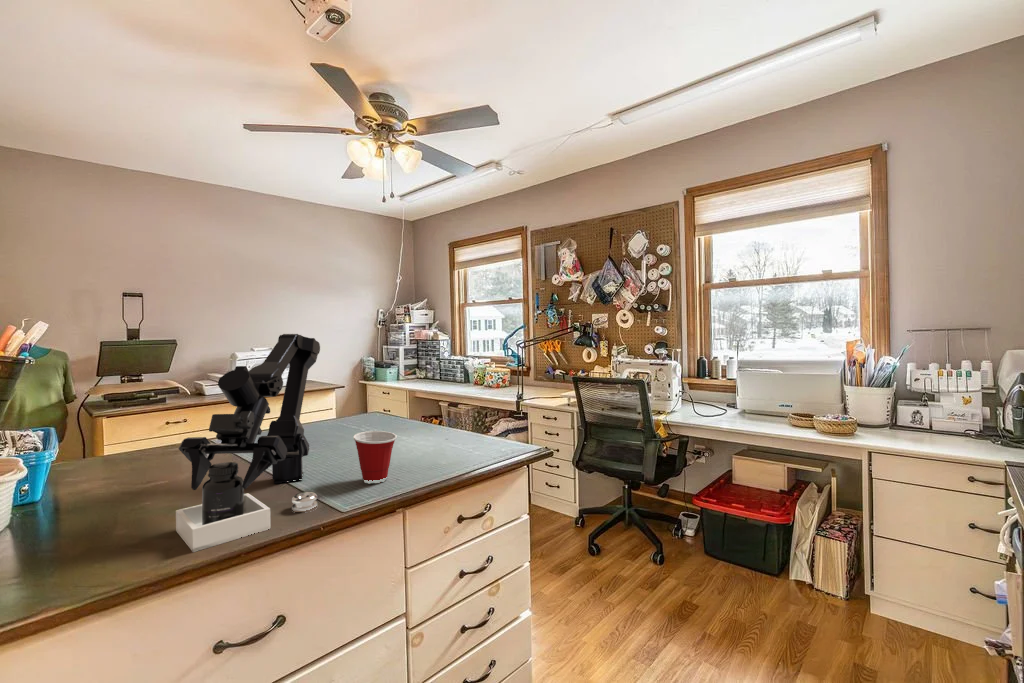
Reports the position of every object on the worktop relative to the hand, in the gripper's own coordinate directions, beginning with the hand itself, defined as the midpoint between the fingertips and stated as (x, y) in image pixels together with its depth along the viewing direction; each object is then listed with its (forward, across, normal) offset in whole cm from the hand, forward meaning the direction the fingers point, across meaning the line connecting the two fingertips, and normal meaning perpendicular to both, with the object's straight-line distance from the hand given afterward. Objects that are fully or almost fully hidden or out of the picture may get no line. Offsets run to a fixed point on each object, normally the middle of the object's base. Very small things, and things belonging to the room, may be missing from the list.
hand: (218, 488), depth 85 cm
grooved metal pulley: (-2, +12, +14) cm, 18 cm away
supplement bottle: (+5, 0, +7) cm, 8 cm away
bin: (+5, 0, +7) cm, 9 cm away
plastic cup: (-14, +23, +26) cm, 38 cm away
